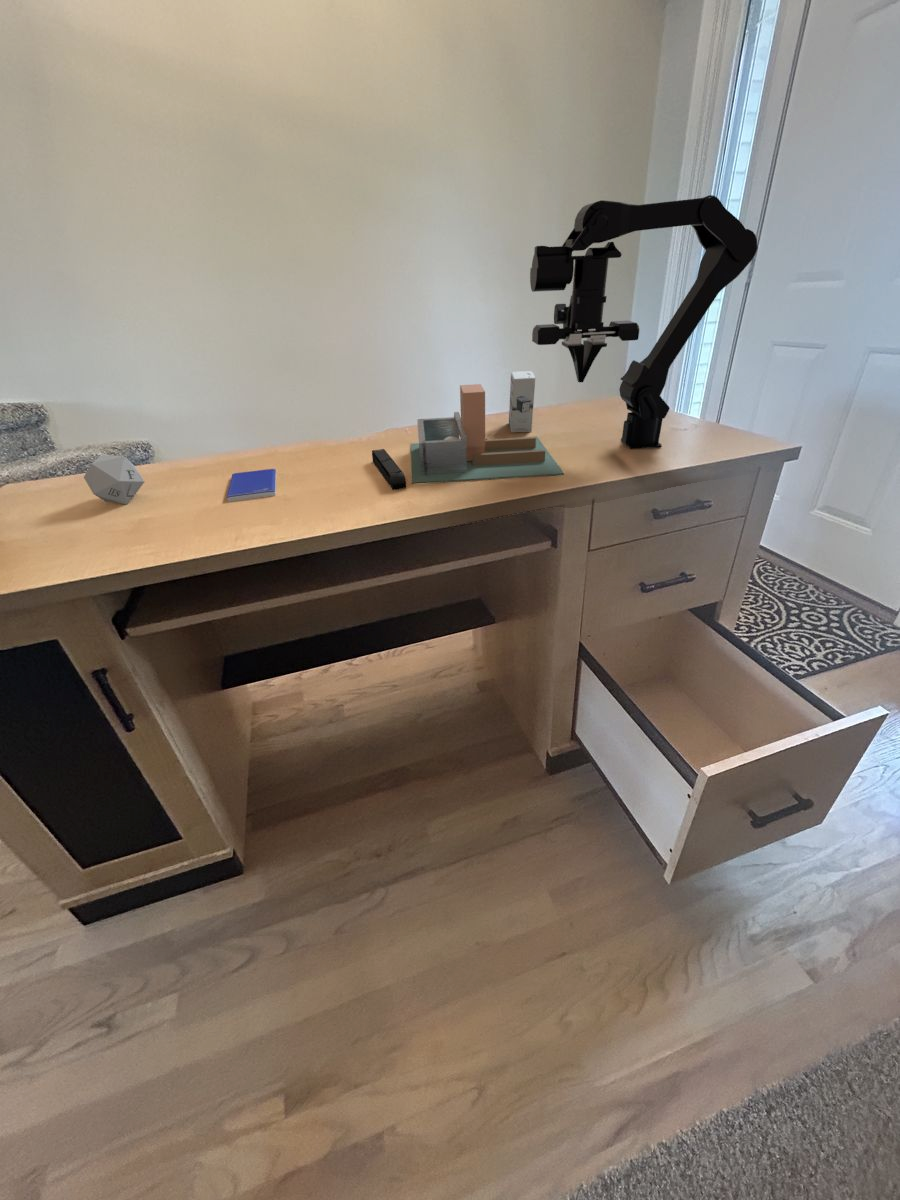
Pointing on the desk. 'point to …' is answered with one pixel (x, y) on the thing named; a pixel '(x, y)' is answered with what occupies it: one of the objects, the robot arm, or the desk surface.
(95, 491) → the die
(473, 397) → the salmon orange block
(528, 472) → the plate
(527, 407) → the ink box
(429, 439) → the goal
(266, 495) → the hard drive
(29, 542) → the desk surface
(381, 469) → the portable electronic device stand
